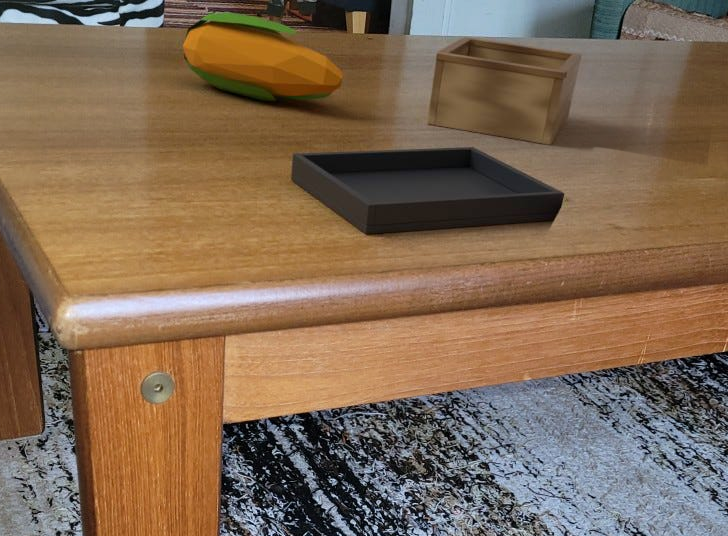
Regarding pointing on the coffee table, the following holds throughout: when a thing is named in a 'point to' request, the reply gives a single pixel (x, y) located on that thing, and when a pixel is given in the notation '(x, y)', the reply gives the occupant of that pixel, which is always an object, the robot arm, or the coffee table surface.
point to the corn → (257, 59)
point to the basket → (503, 89)
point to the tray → (423, 189)
